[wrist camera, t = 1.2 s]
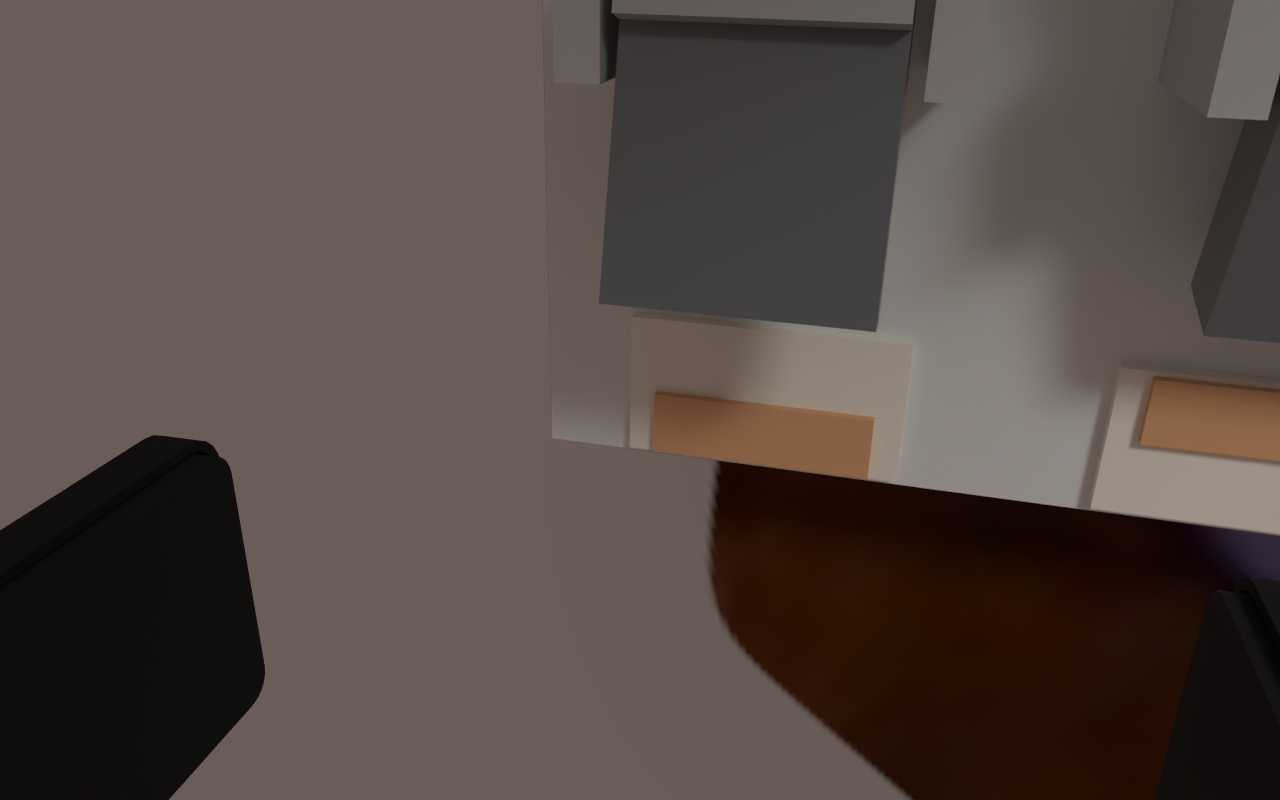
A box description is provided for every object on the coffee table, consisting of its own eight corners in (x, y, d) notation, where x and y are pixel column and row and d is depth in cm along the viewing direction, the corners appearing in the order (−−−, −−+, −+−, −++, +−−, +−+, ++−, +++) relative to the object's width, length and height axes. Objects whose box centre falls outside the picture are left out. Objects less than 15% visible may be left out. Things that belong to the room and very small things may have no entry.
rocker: (669, -300, 18) (638, -369, 16) (954, -310, 16) (961, -385, 14) (623, 298, 19) (590, 305, 17) (878, 323, 18) (875, 335, 16)
